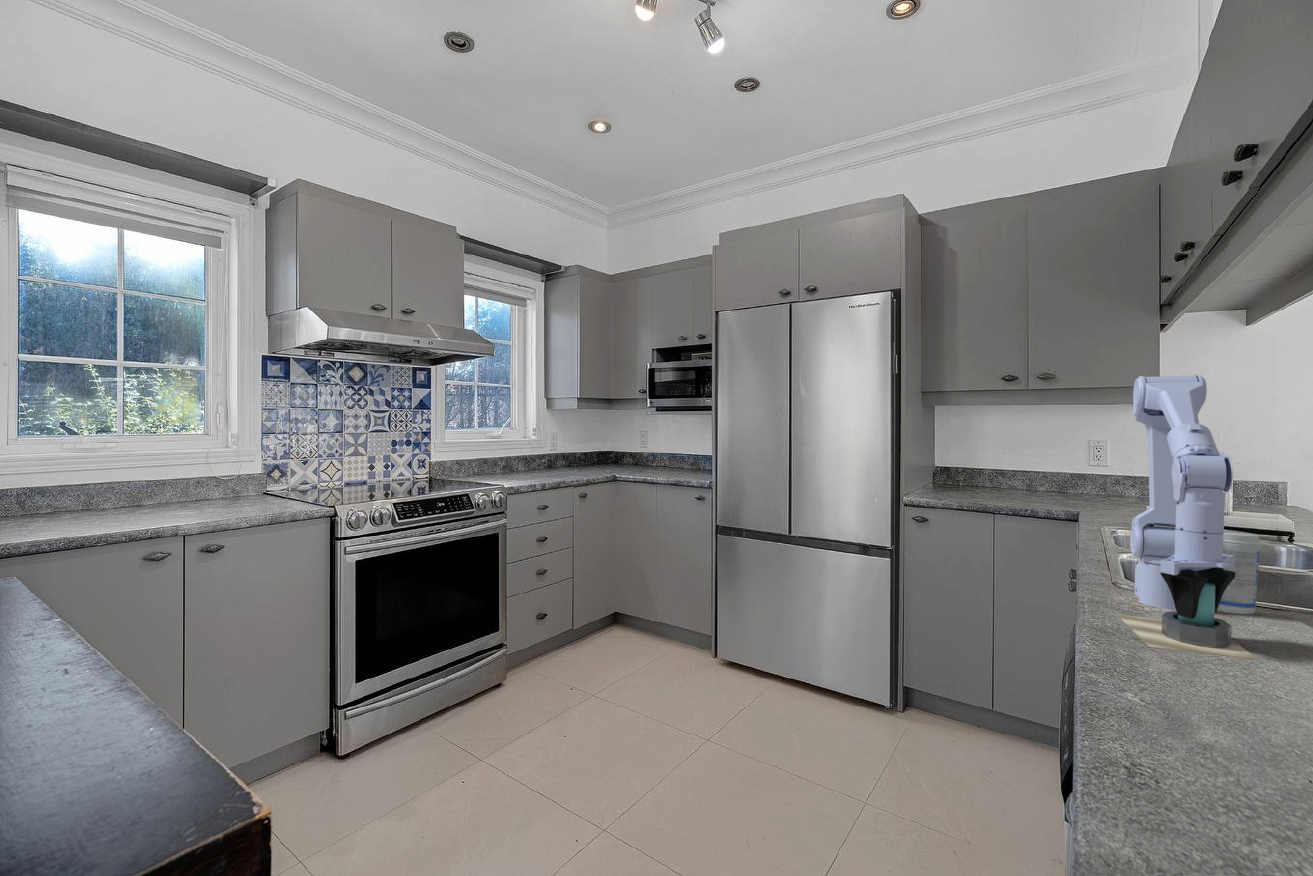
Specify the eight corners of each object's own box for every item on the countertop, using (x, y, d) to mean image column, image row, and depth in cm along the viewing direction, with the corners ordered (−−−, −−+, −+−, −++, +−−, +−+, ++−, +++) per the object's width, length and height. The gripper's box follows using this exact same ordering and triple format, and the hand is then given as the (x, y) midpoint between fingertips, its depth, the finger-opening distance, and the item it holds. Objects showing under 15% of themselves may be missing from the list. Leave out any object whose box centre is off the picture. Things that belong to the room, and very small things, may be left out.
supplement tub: (1269, 619, 108) (1277, 537, 108) (1211, 614, 109) (1218, 533, 109) (1224, 604, 117) (1231, 529, 117) (1171, 599, 118) (1178, 524, 118)
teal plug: (1172, 620, 100) (1173, 578, 100) (1206, 624, 98) (1207, 581, 98) (1184, 629, 96) (1185, 585, 95) (1219, 633, 94) (1220, 588, 94)
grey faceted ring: (1154, 626, 102) (1155, 609, 102) (1215, 633, 99) (1216, 615, 99) (1173, 643, 95) (1174, 624, 95) (1240, 651, 92) (1241, 631, 92)
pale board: (1116, 620, 108) (1117, 614, 108) (1209, 630, 103) (1209, 624, 103) (1149, 652, 94) (1149, 646, 94) (1258, 666, 89) (1259, 659, 89)
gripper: (1198, 538, 90) (1195, 628, 91) (1259, 532, 95) (1255, 617, 95) (1147, 529, 97) (1144, 613, 97) (1205, 524, 101) (1203, 604, 102)
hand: (1196, 614), depth 97 cm, fingers closed on teal plug, 4 cm apart
